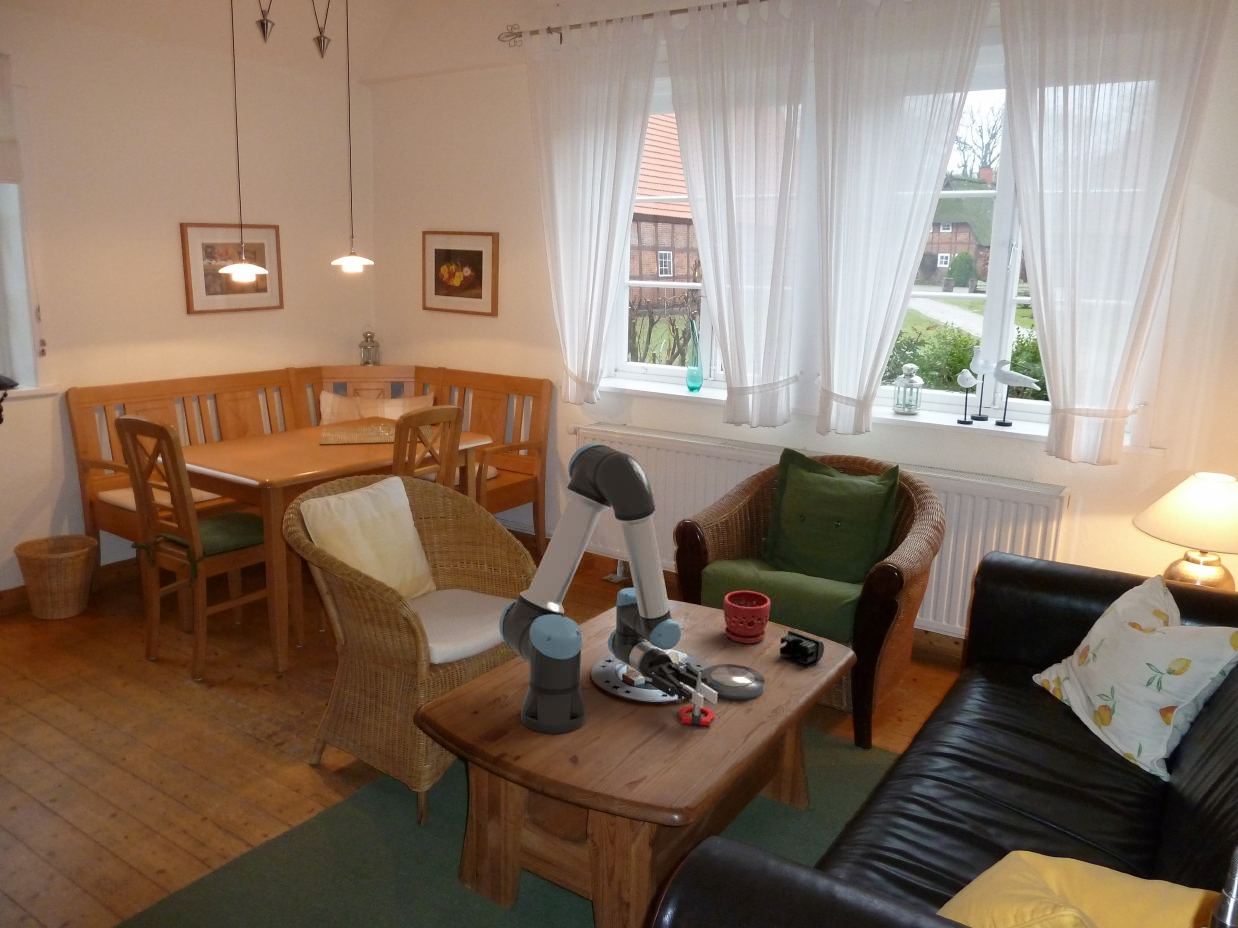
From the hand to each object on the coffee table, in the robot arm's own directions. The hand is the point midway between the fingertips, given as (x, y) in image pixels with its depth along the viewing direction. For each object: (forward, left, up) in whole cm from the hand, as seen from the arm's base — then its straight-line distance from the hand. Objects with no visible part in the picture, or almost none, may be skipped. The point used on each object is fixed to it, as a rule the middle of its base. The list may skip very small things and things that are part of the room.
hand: (709, 699), depth 222 cm
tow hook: (-2, +5, -7) cm, 9 cm away
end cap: (+31, +39, -7) cm, 51 cm away
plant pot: (+19, +54, -7) cm, 57 cm away
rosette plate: (+10, +22, -7) cm, 25 cm away
